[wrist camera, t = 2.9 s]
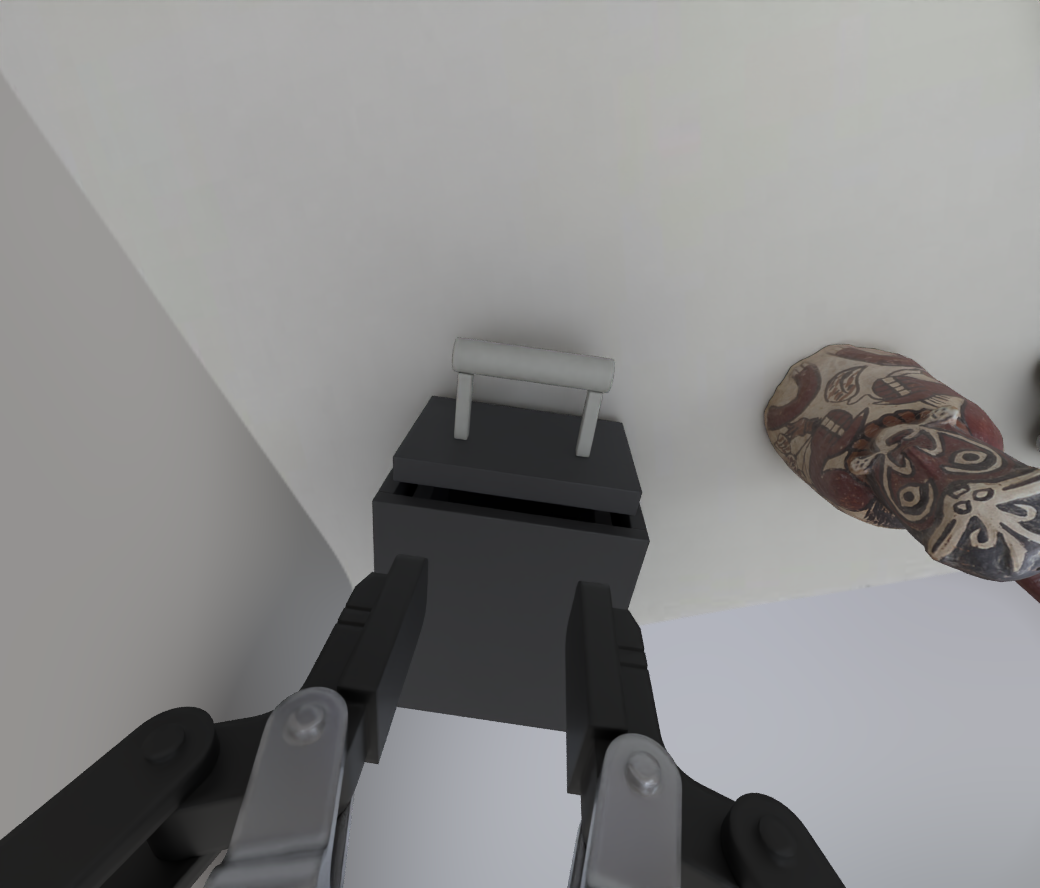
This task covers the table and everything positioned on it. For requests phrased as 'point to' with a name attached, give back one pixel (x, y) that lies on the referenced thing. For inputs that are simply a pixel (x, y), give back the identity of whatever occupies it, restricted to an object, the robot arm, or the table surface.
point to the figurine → (909, 460)
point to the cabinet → (499, 599)
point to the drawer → (522, 441)
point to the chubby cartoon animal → (1038, 442)
